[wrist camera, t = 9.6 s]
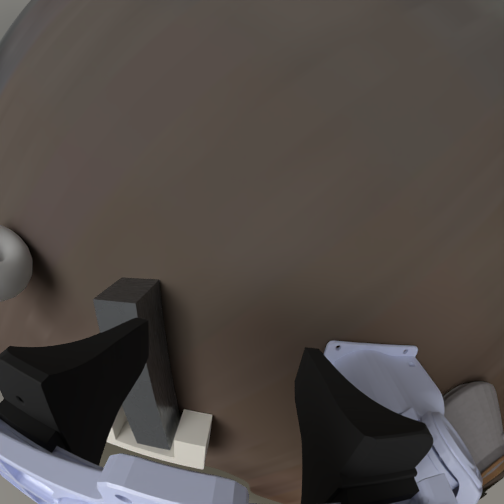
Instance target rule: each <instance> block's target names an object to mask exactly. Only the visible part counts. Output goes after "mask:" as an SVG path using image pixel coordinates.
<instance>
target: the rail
mask: <svg viewBox="0 0 504 504" xmlns="http://www.w3.org/2000/svg"><path fill="white" fill-rule="evenodd" d="M93 301H94V306H95V311H96V316H97V320H98V325H99V329H100V333H102V332H104V331H107V330H109V329H111V328H113V327H116V326H118V325H120V324H122V323H124V322H126V321H129V320H131V319H133V318H136V317H137V318H141V319H145V320H148V332H149V357H148V359H147V362H146V364H145V367H144V369H143V371H142V373H141V375H140V376H139V378H138V380H137V381H136V383H135V384H134V386H133V388H132V389H131V391H130V392H129V394H128V396H127V397H126V399H125V401H124V402H123V404H122V407H123V409H124V412H125V415H126V417H127V420H128V422H129V425H130V427H131V430H132V432H133V435H134V437H135V439H136V442H137V443H138V444H142V445H147V446H151V447H156V448H161V449H167V450H170V449H171V446H172V443H173V440H174V437H175V434H176V431H177V428H178V425H179V422H180V419H181V417H180V412H179V408H178V403H177V398H176V393H175V388H174V383H173V377H172V372H171V366H170V360H169V354H168V348H167V341H166V334H165V327H164V319H163V311H162V302H161V293H160V283H159V280H157V279H138V278H121V279H119V280H118V281H116V282H115V283H114V284H112V285H111V286H110V287H108V288H107V289H106V290H104V291H103V292H102V293H100V294H99V295H98V296H97V297H95V298H94V299H93Z"/></svg>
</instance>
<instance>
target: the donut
mask: <svg viewBox="0 0 504 504" xmlns="http://www.w3.org/2000/svg"><path fill="white" fill-rule="evenodd" d="M0 261H1V262H0V301H5V300H8V299H11V298H14V297H16V296H17V295H18V294H19V293H20V292H22V291H23V290H24V289H25V288H26V286H27V284H28V282H29V280H30V278H31V276H32V263H33V260H32V256H31V254H30V251H29V248H28V247H27V245H26V244H25V243H24V241H23V240H22V239H21V237H20V236H18V235H17V234H16V233H15V232H13V231H12V230H10V229H8V228H6V227H4V226H2V225H0Z"/></svg>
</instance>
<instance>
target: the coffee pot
mask: <svg viewBox="0 0 504 504" xmlns="http://www.w3.org/2000/svg"><path fill="white" fill-rule="evenodd" d="M443 401H444V417H445V418H446V419H447V420H448V421H449V422H450V424H451V425H452V426H453V428H454V429H455V430H456V432H457V433H458V434H459V436H460V437H461V439H462V440H463V442H464V444H465V445H466V447H467V448H468V450H469V452H470V454H471V456H472V458H473V460H474V463H475V465H476V467H477V468H478V470H479V471H480V474H481V477H482V480H483V484H482V486H483V485H484V484H486V483H487V482H489V481H490V480H492V479H493V478H494V477H496V476H497V475H498V474H499V473H501V472H502V471H503V470H504V433H503V427H502V420H501V414H500V409H499V404H498V399H497V394H496V390H495V388H494V386H493V385H492V384H490V383H487V382H484V381H477V382H471V383H466V384H462V385H459V386H457V387H456V388H454V389H452V390H451V391H449V392H448V393H447V394H445V395H444V396H443Z"/></svg>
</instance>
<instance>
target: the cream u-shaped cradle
mask: <svg viewBox="0 0 504 504" xmlns="http://www.w3.org/2000/svg"><path fill="white" fill-rule="evenodd" d="M211 423H212V415H211V414H206V413H201V412H196V411H191V410H186V409H184V410H183V413H182V416H181V419H180V422H179V425H178V428H177V431H176V434H175V437H174V440H173V443H172V446H171V449H170V450H167V449H161V448H156V447H151V446H147V445H142V444H138V443H137V442H136V439H135V437H134V435H133V432H132V430H131V427H130V425H129V422H128V420H127V417H126V415H125V412H124V409H123V407H122V406H121V407H120V409H119V411H118V414H117V416H116V418H115V421H114V423H113V425H112V428H111V430H110V433H109V436H108V438H107V441H106V442H108V443H111V444H114V445H117V446H119V447H122V448H125V449H128V450H131V451H134V452H137V453H140V454H143V455H146V456H150V457H153V458H157V459H160V460H164V461H168V462H171V463H176V464H180V465H185V466H189V467H193V468H198V469H204V464H205V459H206V455H207V450H208V445H209V440H210V431H211Z"/></svg>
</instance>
